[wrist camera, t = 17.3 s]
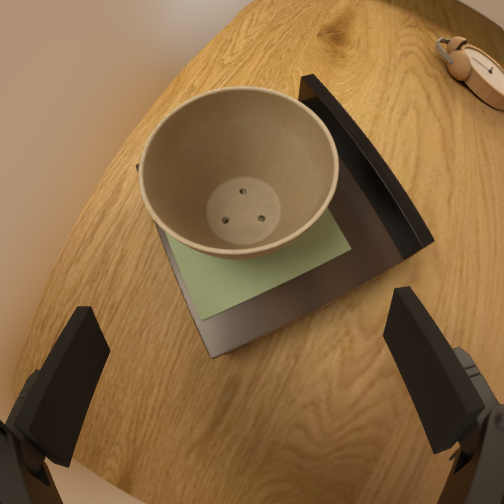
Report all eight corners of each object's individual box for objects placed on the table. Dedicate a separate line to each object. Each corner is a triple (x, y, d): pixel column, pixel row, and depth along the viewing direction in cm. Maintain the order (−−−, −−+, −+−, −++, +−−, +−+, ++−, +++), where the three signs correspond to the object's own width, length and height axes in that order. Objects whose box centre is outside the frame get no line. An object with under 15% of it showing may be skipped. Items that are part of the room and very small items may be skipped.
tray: (219, 357, 23) (202, 362, 16) (150, 187, 27) (121, 143, 20) (394, 267, 24) (435, 240, 17) (304, 125, 29) (313, 73, 22)
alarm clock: (523, 113, 27) (447, 45, 26) (503, 128, 31) (429, 67, 31) (512, 75, 29) (445, 17, 29) (497, 89, 34) (431, 36, 34)
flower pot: (146, 213, 22) (105, 160, 15) (247, 133, 23) (243, 64, 16) (239, 317, 19) (228, 302, 12) (345, 216, 21) (377, 160, 14)
